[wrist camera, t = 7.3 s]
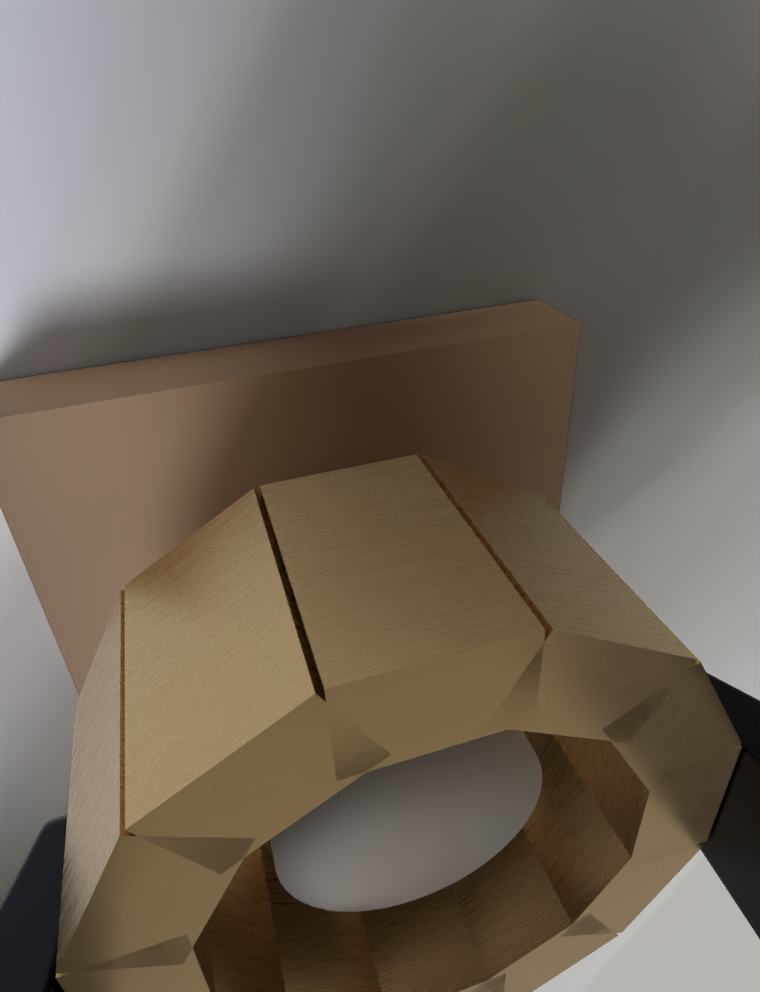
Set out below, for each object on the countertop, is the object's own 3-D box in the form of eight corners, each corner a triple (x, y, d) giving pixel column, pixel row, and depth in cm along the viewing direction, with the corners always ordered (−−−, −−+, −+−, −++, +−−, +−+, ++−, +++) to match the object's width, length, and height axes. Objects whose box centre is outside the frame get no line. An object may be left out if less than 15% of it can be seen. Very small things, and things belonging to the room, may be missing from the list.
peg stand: (132, 767, 13) (135, 1093, 9) (-18, 383, 9) (-142, 669, 5) (510, 662, 15) (658, 894, 11) (539, 299, 11) (804, 453, 7)
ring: (156, 900, 11) (165, 1145, 8) (0, 536, 7) (-66, 794, 4) (560, 769, 12) (668, 943, 10) (616, 415, 8) (812, 557, 6)
